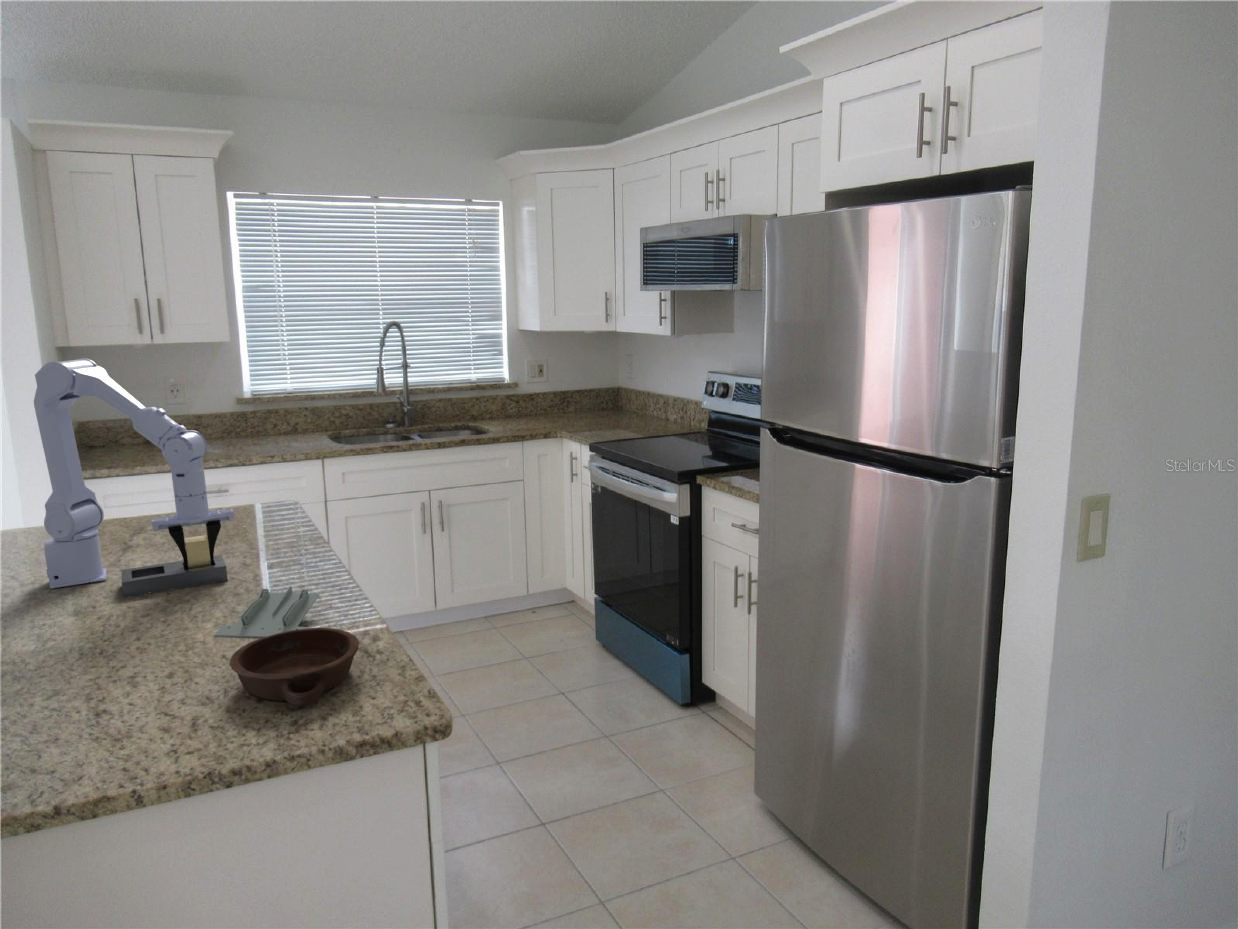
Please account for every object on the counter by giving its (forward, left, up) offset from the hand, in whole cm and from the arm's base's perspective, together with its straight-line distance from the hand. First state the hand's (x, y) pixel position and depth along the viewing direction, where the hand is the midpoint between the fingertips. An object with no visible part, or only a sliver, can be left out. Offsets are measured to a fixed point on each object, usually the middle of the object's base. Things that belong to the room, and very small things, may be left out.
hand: (198, 560), depth 172 cm
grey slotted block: (-4, 0, -4) cm, 6 cm away
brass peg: (0, 0, -3) cm, 3 cm away
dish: (+9, -60, -4) cm, 61 cm away
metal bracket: (+9, -35, -4) cm, 36 cm away
